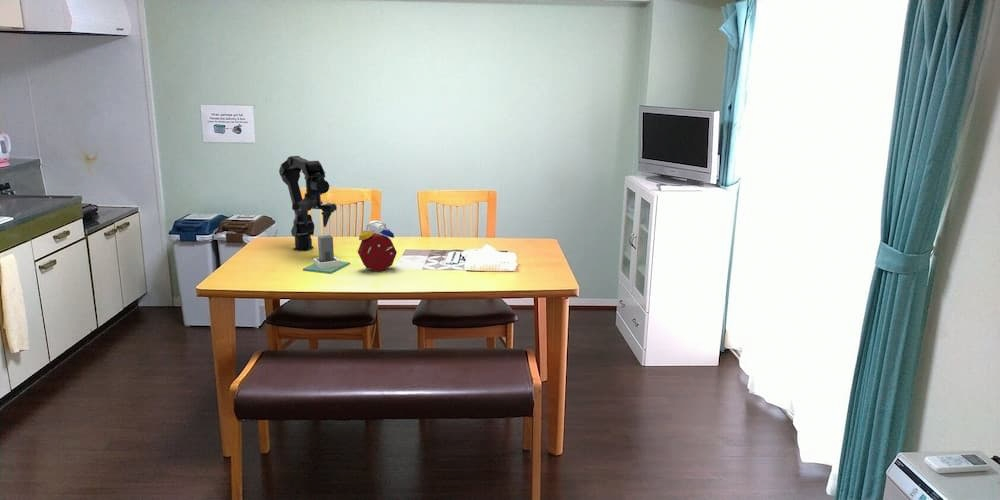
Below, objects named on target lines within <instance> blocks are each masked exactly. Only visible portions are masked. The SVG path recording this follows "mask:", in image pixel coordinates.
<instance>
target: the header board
mask: <svg viewBox="0 0 1000 500" xmlns="http://www.w3.org/2000/svg"><path fill="white" fill-rule="evenodd" d="M312 261H313V262H312V263H311V264H310V265H307V266H306V267H303V268H302V271H303V272H312V273H323V274H334V273H335V272H337V271H340V270H341V269H343V268H345V267H347V266H349V265H351V262H350V261H349V262H348V261H343V260H342V261H341V260H340V259H338V258H337V257H336V256H334V261H329V262H322V263H320V262H319V257H314V258H312Z"/></svg>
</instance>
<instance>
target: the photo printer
mask: <svg viewBox="0 0 1000 500" xmlns="http://www.w3.org/2000/svg"><path fill="white" fill-rule="evenodd" d="M374 222H379V223H383V222H381V221H379V220H371V221H369V223H368V225H369V224H371V223H374ZM379 223H375V224H372V225H369V226H368V231H371V232H372V231H373V230H375V231H374V232H375V233H377V234H380V235H383V234H381V233H380V232H381V231H382V230H387V229H385V225H384V224H385V223H384V224H379ZM374 232H372V233H373V234H374ZM383 236H386V235H383Z"/></svg>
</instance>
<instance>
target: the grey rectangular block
mask: <svg viewBox="0 0 1000 500" xmlns="http://www.w3.org/2000/svg"><path fill="white" fill-rule="evenodd" d="M317 244H318V246H317V247H318V258H319V262H320V263H322V262H329V261H334V257H335V254H334V253H335V252H334V237H333V235H330V234H328V235H318V236H317Z"/></svg>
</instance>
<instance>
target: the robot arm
mask: <svg viewBox="0 0 1000 500" xmlns="http://www.w3.org/2000/svg"><path fill="white" fill-rule="evenodd" d="M278 169H279V170H278V172H279V176H280V178H281V180H282V182H284V184H286V185H287V189H288V192H289V196H290V200H291V203H292V205H291V209H292V210H293V211H294V215H295V216H294V218H293V222H292V224H293V225H292V228H291V231H290V233H291V234H290V235H291V236H292V237H294V243H295V247H293V250H297V251H304V252H305V251H309V250H310V249H313V248H314V246H313V241H312V240H313V239H312V236H314V233H315V223H314V222H313V218H312V215H311V214H309V211H311V210H321V211H322V212H321V215H322V222H323V223H322V224H323V228H326V227H327V225H328V222H329V220H330V217H331V215H332V213H334V212H335V211H337V205H336V204H335V203H332V202H331V203H329V202H327V203H324V204H323V201H321V195H323V194H326V193H328V191H329V190H330V184H329V182H328V181H327V180H325V178H326V172H325V170H324V168H323V166H322V163H321V162H320V161H319V160H307V158H303V157H301V156H300V155H292V156H291V155H290V156H288V157H287V159H286V160H285V161H283V162H282V163H281V164H280V167H279V168H278ZM301 172H302V174H303V175H304V180H305V190H306V193H304V198H303V196H302V192H301V188H300V184H299V182H300V178H301Z"/></svg>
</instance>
